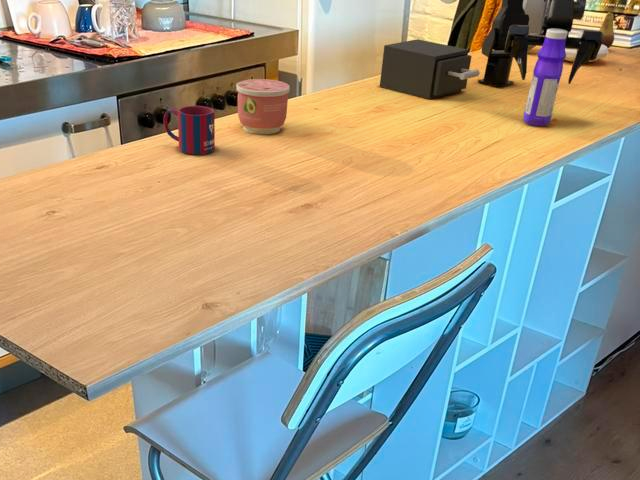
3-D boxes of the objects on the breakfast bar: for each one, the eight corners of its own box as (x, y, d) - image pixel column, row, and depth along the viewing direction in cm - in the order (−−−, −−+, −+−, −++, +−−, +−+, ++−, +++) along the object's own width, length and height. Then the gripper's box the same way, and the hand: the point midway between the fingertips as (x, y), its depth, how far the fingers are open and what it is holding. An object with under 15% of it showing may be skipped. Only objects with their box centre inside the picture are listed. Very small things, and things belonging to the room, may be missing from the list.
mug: (202, 157, 149) (201, 117, 144) (157, 147, 153) (155, 108, 148) (221, 148, 153) (221, 109, 149) (177, 139, 157) (176, 101, 153)
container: (228, 123, 166) (228, 80, 161) (275, 119, 170) (277, 77, 164) (247, 137, 159) (248, 93, 154) (295, 133, 162) (298, 89, 157)
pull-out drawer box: (482, 92, 189) (489, 59, 185) (453, 100, 183) (459, 65, 179) (420, 77, 199) (424, 45, 195) (390, 84, 193) (394, 51, 189)
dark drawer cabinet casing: (461, 91, 194) (468, 49, 188) (429, 99, 187) (435, 56, 181) (412, 79, 202) (417, 39, 196) (379, 86, 195) (384, 45, 189)
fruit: (614, 50, 238) (627, 2, 230) (605, 52, 235) (619, 4, 227) (596, 47, 241) (609, -1, 233) (587, 49, 238) (600, 1, 230)
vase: (538, 60, 224) (545, 31, 219) (557, 51, 234) (564, 23, 229) (595, 69, 217) (603, 39, 212) (612, 60, 227) (620, 31, 222)
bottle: (550, 128, 171) (574, 34, 160) (522, 126, 172) (544, 32, 160) (548, 119, 176) (570, 27, 165) (521, 117, 177) (542, 25, 166)
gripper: (519, -22, 162) (506, 51, 161) (616, -16, 159) (604, 58, 158) (509, 17, 173) (498, 86, 172) (600, 23, 170) (589, 93, 169)
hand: (546, 80), depth 167 cm, fingers open, 9 cm apart
